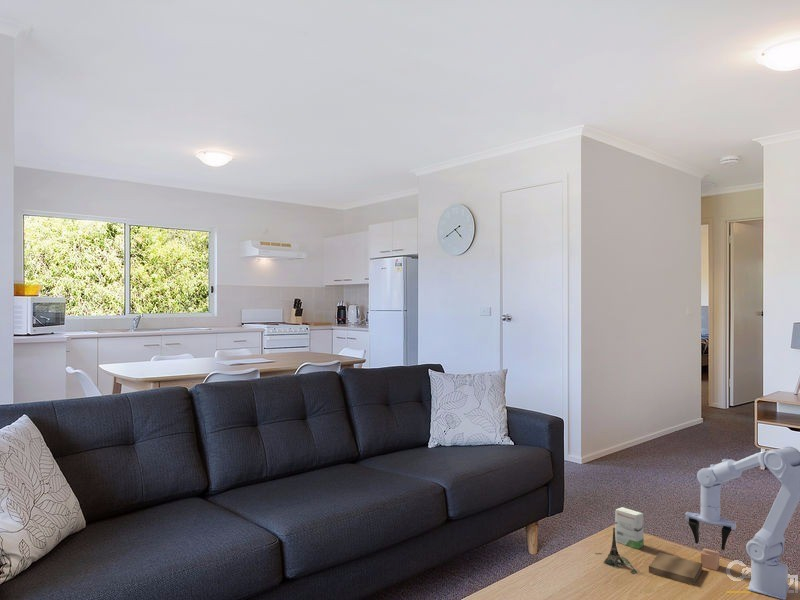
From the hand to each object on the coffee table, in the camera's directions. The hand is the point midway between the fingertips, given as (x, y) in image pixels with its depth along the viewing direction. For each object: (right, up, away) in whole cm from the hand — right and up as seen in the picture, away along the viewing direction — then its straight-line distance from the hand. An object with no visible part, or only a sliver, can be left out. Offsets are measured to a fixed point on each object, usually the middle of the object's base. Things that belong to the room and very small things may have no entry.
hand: (709, 545), depth 189 cm
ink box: (-20, -7, +17) cm, 27 cm away
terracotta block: (0, -7, 0) cm, 7 cm away
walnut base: (-13, -7, -4) cm, 15 cm away
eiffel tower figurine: (-30, -7, +1) cm, 31 cm away
